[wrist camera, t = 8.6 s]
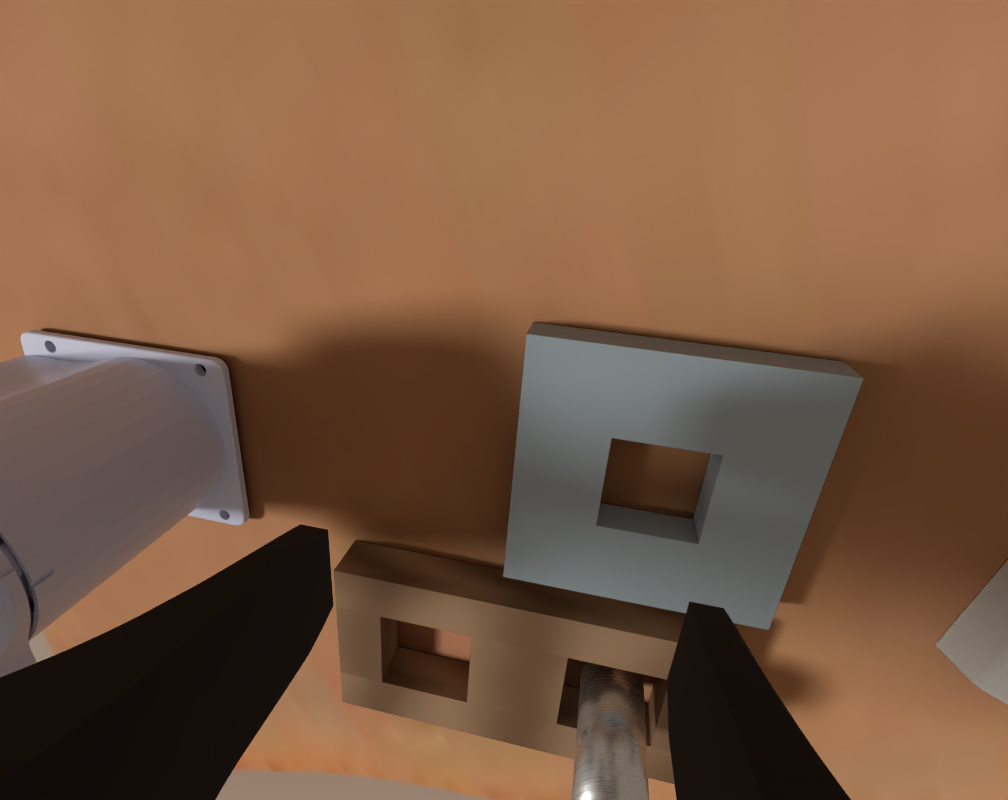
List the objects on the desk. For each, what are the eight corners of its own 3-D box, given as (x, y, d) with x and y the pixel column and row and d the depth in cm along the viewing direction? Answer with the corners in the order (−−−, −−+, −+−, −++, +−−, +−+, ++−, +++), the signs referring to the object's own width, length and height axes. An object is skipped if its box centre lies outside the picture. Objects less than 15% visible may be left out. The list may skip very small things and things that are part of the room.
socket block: (509, 552, 22) (502, 576, 21) (533, 322, 18) (526, 333, 17) (758, 600, 21) (768, 630, 20) (844, 361, 17) (863, 378, 16)
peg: (579, 672, 24) (565, 847, 18) (586, 630, 23) (574, 800, 17) (636, 684, 24) (643, 868, 18) (646, 642, 23) (658, 821, 17)
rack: (361, 666, 27) (342, 702, 25) (355, 540, 24) (333, 570, 22) (684, 743, 25) (689, 787, 23) (726, 614, 22) (736, 654, 20)
